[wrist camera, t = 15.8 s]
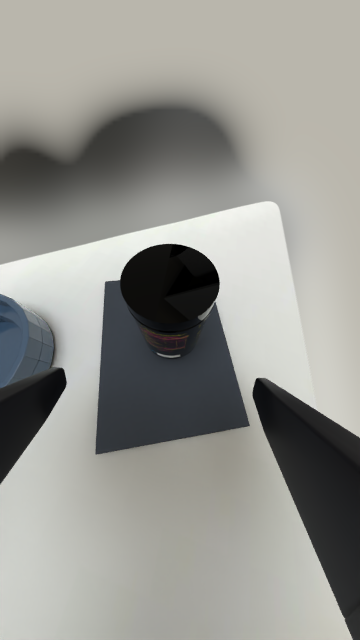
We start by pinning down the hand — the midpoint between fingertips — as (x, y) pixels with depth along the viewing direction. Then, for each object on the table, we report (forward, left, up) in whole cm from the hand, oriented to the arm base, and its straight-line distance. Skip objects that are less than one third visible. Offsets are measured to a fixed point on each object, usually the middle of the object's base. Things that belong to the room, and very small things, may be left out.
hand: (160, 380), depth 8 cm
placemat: (+6, 0, -12) cm, 13 cm away
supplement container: (+7, -1, -11) cm, 13 cm away
